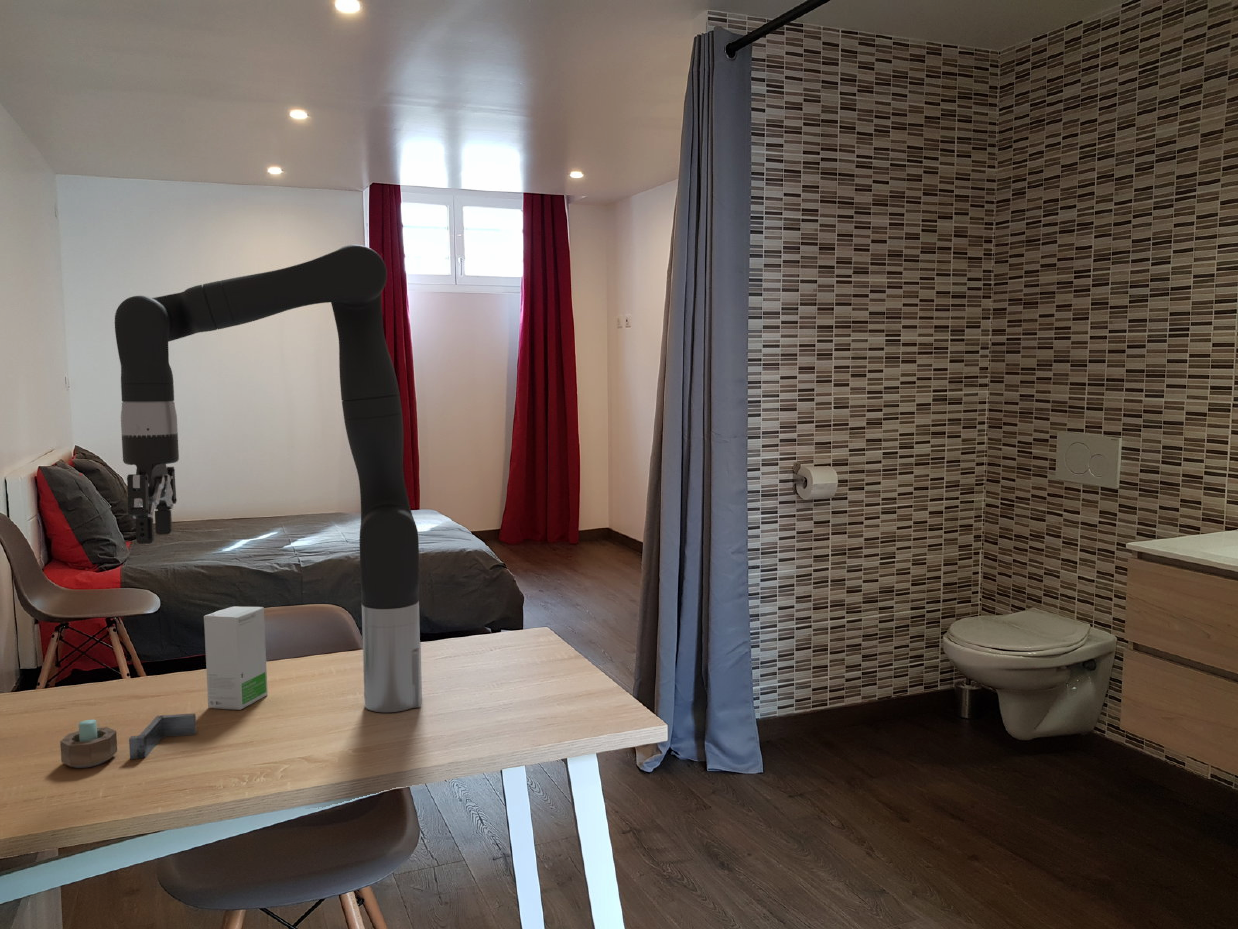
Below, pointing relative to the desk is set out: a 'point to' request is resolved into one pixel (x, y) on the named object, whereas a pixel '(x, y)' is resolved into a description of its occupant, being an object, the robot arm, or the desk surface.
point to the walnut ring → (88, 748)
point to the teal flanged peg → (88, 736)
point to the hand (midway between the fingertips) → (155, 538)
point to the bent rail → (161, 733)
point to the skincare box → (235, 657)
